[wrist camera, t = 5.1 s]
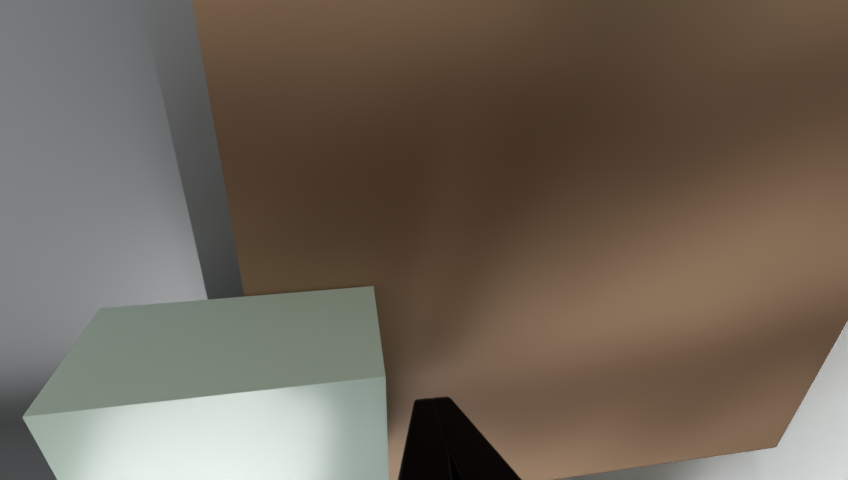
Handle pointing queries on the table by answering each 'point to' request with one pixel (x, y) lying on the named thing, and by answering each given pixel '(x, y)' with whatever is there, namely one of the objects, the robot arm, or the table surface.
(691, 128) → the tan bevelled block
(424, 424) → the robot arm
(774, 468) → the table surface
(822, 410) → the table surface
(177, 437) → the tile
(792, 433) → the table surface
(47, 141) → the box
